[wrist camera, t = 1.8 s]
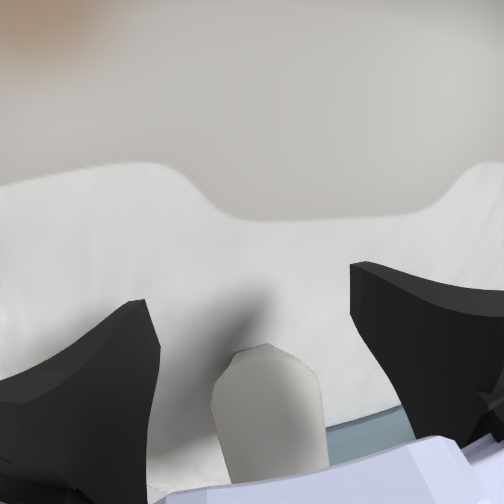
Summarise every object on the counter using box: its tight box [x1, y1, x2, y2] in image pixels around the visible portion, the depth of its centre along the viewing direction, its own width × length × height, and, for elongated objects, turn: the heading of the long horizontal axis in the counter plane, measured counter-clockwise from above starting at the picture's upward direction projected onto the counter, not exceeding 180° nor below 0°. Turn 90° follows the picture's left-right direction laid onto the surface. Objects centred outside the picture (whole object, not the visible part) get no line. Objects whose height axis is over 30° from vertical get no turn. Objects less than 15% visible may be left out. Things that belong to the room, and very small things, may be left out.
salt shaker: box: [210, 344, 330, 484], centre depth 12 cm, size 6×6×13 cm
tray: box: [325, 405, 416, 466], centre depth 22 cm, size 14×14×2 cm
